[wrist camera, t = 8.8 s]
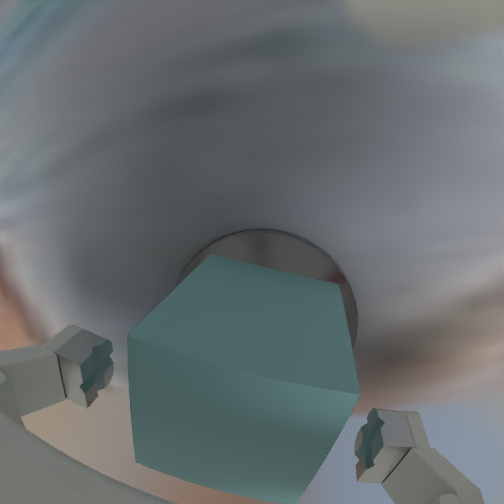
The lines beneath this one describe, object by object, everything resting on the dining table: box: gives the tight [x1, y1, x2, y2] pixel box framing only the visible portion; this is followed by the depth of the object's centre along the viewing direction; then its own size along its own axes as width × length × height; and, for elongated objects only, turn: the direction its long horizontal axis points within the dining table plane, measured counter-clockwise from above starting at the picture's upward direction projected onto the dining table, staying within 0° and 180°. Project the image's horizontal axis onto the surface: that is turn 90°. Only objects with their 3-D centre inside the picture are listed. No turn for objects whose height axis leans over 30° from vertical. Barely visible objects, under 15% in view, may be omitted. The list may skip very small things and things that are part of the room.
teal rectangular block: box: [127, 254, 360, 504], centre depth 10 cm, size 5×5×7 cm
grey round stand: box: [176, 229, 357, 346], centre depth 11 cm, size 8×8×6 cm
